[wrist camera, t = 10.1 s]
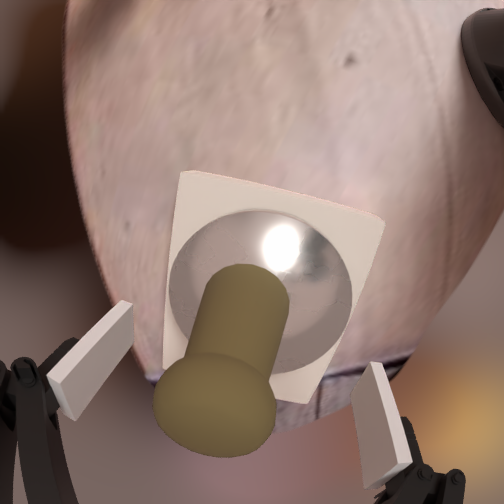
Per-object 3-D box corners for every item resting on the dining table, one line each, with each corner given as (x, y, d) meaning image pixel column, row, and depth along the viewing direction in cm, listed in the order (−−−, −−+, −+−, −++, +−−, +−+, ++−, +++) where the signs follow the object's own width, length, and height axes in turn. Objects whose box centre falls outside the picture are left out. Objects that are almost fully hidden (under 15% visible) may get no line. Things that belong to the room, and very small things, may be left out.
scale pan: (374, 236, 17) (379, 241, 16) (315, 377, 22) (316, 386, 21) (186, 189, 18) (179, 192, 17) (169, 341, 22) (164, 349, 21)
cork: (263, 351, 20) (241, 482, 10) (191, 315, 20) (122, 433, 9) (306, 290, 18) (318, 432, 8) (224, 247, 18) (147, 360, 7)
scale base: (374, 214, 21) (390, 225, 17) (306, 384, 27) (307, 411, 24) (194, 170, 22) (175, 172, 18) (172, 351, 28) (159, 374, 24)
